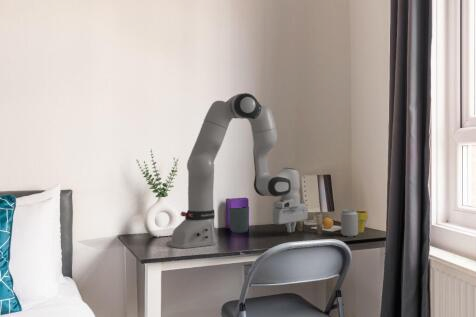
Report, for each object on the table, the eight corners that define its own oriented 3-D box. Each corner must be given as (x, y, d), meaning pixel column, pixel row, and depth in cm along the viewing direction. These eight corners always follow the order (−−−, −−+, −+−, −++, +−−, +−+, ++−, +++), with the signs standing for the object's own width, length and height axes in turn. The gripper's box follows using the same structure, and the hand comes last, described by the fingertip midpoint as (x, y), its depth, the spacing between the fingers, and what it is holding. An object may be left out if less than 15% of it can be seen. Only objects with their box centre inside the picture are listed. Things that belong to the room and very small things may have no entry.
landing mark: (331, 231, 227) (331, 231, 227) (309, 228, 238) (309, 227, 238) (349, 228, 236) (349, 227, 236) (327, 224, 247) (327, 224, 247)
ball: (337, 223, 236) (331, 231, 233) (328, 222, 240) (323, 230, 237) (332, 215, 234) (326, 223, 231) (324, 215, 238) (318, 222, 235)
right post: (319, 234, 221) (319, 215, 221) (315, 233, 223) (315, 214, 223) (323, 233, 222) (323, 214, 222) (319, 232, 224) (319, 214, 224)
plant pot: (370, 233, 221) (370, 212, 221) (348, 233, 221) (348, 213, 221) (365, 229, 231) (364, 209, 231) (343, 229, 231) (343, 210, 231)
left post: (300, 230, 231) (300, 212, 230) (296, 230, 233) (296, 212, 232) (303, 230, 232) (303, 212, 232) (299, 229, 234) (299, 211, 234)
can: (358, 237, 212) (358, 210, 211) (341, 237, 213) (341, 210, 213) (357, 234, 219) (357, 208, 219) (341, 234, 220) (340, 208, 220)
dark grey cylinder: (231, 233, 228) (230, 208, 227) (227, 229, 238) (227, 206, 237) (251, 232, 230) (251, 207, 230) (246, 228, 240) (246, 205, 239)
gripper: (300, 200, 228) (301, 228, 228) (270, 203, 215) (270, 233, 215) (310, 201, 223) (310, 229, 223) (279, 204, 210) (280, 235, 210)
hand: (290, 231), depth 219 cm, fingers closed
